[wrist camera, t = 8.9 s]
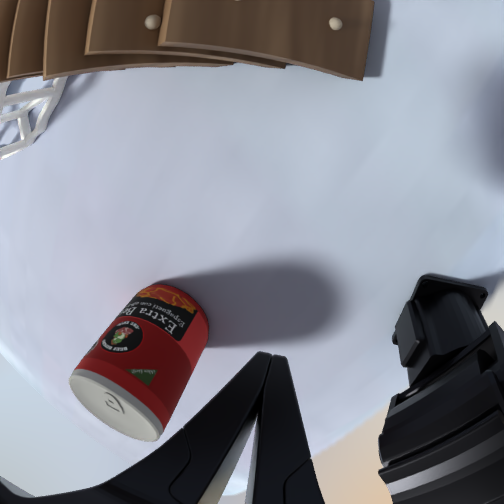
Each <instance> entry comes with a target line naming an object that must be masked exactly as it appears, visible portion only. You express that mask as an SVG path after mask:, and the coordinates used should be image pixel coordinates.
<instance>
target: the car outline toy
mask: <svg viewBox="0 0 504 504" xmlns="http://www.w3.org/2000/svg"><path fill="white" fill-rule="evenodd" d="M68 77H69V76H65V77H60V78H55V79H54V81H53V85H52V87H50V88H44V89H37V90H32V91H26V92H21V93H16V94H11V95H7V96H6V91H7V88H8V86H9V84H10V82H11V81H8V82H3V83H0V124H1V123H4V122H7V121H11V120H14V119H18V125H19V130H20V135H21V141H18V142H15V143H12V144H10V145H7V146H4V147H1V148H0V160H2V159H4V158H7V157H9V156H12V155H14V154H16V153H18V152H20V151H22V150H23V149H25V148H27V147H28V146H31V145H32V143H34V141H35V139H36V137H37V136H38V135H40V134H41V133H43V132H44V131H45V130H46V127H47V123H48V120H49V117H50V115H51V113H52V112H53V110H54V109H55V107H56V105H57V104H58V102H59V100H60V98H61V95H62V92H63V89H64V86H65V83H66V80H67V78H68ZM47 99H48V100H47ZM46 100H47V102H46V104H45V106H44V107H43V109H42V111H41V113H40V114H39V117H38V119H37V122H36V126H35V129H34V130H33V131H32V132H31V128H30V123H29V118H28V112H29V111H30V110H32V109H33V108H35V107H36V106H38V105H39V104H41V103H43V102H44V101H46ZM27 101H31V102H29V103H28V104H26V105H25V106H23V107H22V108H21V109H20V110H16V111H12V112H9V113H5V114H2V110H3V107H6V106H10V105H14V104H18V103H23V102H27Z"/></svg>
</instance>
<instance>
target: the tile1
mask: <svg viewBox="0 0 504 504" xmlns="http://www.w3.org/2000/svg"><path fill="white" fill-rule="evenodd" d="M373 10H374V1H373V0H165V1H164V7H163V12H162V18H161V24H160V31H159V37H158V45H157V46H165V47H184V48H196V49H207V50H216V51H224V52H231V53H238V54H244V55H250V56H256V57H262V58H267V59H272V60H277V61H281V62H286V63H290V64H294V65H298V66H302V67H306V68H310V69H314V70H318V71H321V72H325V73H328V74H332V75H335V76H338V77H341V78H347V79H354V80H360V81H363V76H364V71H365V65H366V59H367V52H368V46H369V39H370V32H371V25H372V18H373Z"/></svg>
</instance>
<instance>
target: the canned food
mask: <svg viewBox="0 0 504 504" xmlns="http://www.w3.org/2000/svg"><path fill="white" fill-rule="evenodd" d="M208 332H209V325H208V320H207V318H206V315H205V313H204V312H203V310H202V308H201V307H200V306H199V305H198V304H197V302H196V301H195V300H194V299H192V298H191V297H190V296H189V295H187V294H186V293H184V292H183V291H181V290H179V289H177V288H175V287H172V286H168V285H162V284H157V285H151V286H149V287H146V288H144V289H142V290H141V291H140V292H138V293H137V294H136V295H135V296H134V297H133V299H132V300H131V301H130V302H129V303H128V304H127V306H126V307H125V308H124V309H123V310H122V311H121V313H120V314H119V315H118V316H117V317H116V318H115V320H114V321H113V322H112V323H111V324H110V326H109V327H108V328H107V329H106V330H105V332H104V333H103V334H102V335H101V336H100V338H99V339H98V340H97V341H96V343H95V344H94V345H93V346H92V347H91V349H90V350H89V351H88V352H87V354H86V355H85V356H84V357H83V359H82V360H81V362H80V363H79V364H78V366H77V367H76V368H75V369H74V371H73V373H72V375H71V376H70V378H69V385H70V388H71V390H72V391H73V393H74V395H75V396H76V397H77V399H78V400H79V401H80V402H81V404H82V405H83V406H84V407H85V408H86V409H87V410H88V411H89V412H91V413H92V414H93V415H94V416H95V417H97V418H98V419H99V420H101V421H102V422H103V423H105V424H106V425H108V426H109V427H111V428H113V429H114V430H116V431H118V432H120V433H122V434H124V435H126V436H129V437H131V438H134V439H137V440H141V441H147V442H154V441H157V440H158V439H159V438H160V436H161V435H162V433H163V432H164V430H165V428H166V426H167V424H168V422H169V420H170V418H171V416H172V414H173V412H174V410H175V408H176V406H177V404H178V401H179V399H180V397H181V395H182V393H183V391H184V389H185V387H186V385H187V383H188V381H189V379H190V377H191V375H192V373H193V370H194V368H195V366H196V364H197V362H198V360H199V358H200V356H201V354H202V352H203V350H204V348H205V346H206V343H207V341H208Z"/></svg>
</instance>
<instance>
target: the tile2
mask: <svg viewBox="0 0 504 504" xmlns="http://www.w3.org/2000/svg"><path fill="white" fill-rule="evenodd" d="M164 1H165V0H92V4H91V10H90V15H89V21H88V27H87V34H86V41H85V49H84V56H87V55H104V54H160V55H178V56H190V57H201V58H210V59H218V60H225V61H232V62H239V63H245V64H250V65H256V66H261V67H268V68H282V69H285V67H286V62H281V61H277V60H272V59H267V58H262V57H256V56H250V55H244V54H238V53H231V52H224V51H216V50H207V49H196V48H184V47H165V46H157V45H158V37H159V31H160V24H161V18H162V12H163V7H164Z"/></svg>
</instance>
